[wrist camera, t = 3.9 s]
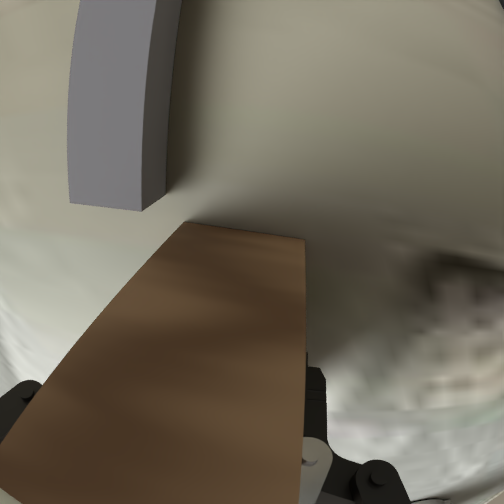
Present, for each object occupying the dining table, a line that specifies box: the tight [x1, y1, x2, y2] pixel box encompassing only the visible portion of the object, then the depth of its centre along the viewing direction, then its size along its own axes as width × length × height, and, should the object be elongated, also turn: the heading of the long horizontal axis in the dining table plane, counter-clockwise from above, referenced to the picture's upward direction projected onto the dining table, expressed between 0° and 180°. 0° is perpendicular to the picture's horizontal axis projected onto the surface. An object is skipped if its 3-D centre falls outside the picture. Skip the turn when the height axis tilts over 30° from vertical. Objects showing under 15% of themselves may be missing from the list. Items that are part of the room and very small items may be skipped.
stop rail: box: [67, 0, 182, 212], centre depth 8 cm, size 3×14×2 cm, turn 174°
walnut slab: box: [0, 222, 306, 504], centre depth 8 cm, size 4×8×11 cm, turn 174°
